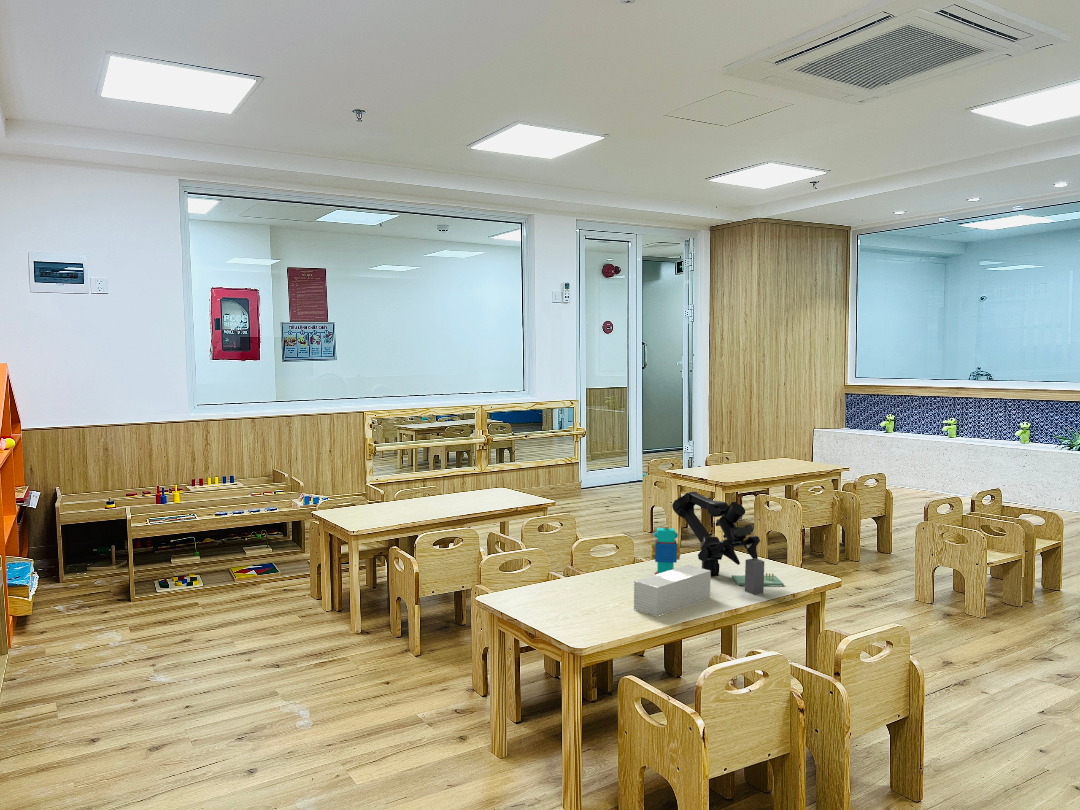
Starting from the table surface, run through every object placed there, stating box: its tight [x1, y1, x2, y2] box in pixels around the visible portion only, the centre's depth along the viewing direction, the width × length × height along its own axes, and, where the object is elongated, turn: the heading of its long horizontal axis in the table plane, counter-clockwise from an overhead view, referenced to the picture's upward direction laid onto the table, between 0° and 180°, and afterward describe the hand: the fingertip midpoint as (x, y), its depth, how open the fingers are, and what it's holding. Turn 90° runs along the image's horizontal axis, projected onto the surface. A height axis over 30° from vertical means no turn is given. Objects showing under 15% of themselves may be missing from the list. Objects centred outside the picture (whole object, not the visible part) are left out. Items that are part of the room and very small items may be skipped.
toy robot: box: [650, 519, 681, 575], centre depth 321 cm, size 12×6×25 cm, turn 84°
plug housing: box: [744, 558, 765, 596], centre depth 306 cm, size 5×5×12 cm
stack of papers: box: [633, 564, 712, 617], centre depth 291 cm, size 32×11×11 cm, turn 133°
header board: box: [731, 572, 785, 586], centre depth 319 cm, size 18×11×4 cm, turn 90°
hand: (748, 562), depth 309 cm, fingers open, 9 cm apart
